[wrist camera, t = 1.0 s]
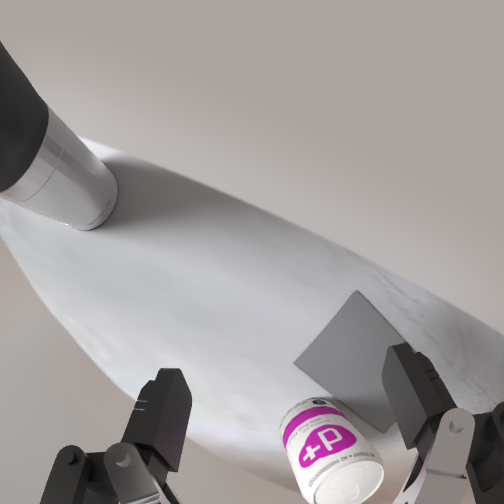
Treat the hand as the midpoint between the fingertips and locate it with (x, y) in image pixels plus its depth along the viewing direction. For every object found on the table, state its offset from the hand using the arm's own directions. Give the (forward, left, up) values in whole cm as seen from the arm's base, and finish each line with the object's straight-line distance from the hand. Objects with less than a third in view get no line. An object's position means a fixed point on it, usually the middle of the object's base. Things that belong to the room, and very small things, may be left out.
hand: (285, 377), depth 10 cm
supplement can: (+16, -6, -23) cm, 29 cm away
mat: (+18, +5, -23) cm, 30 cm away
